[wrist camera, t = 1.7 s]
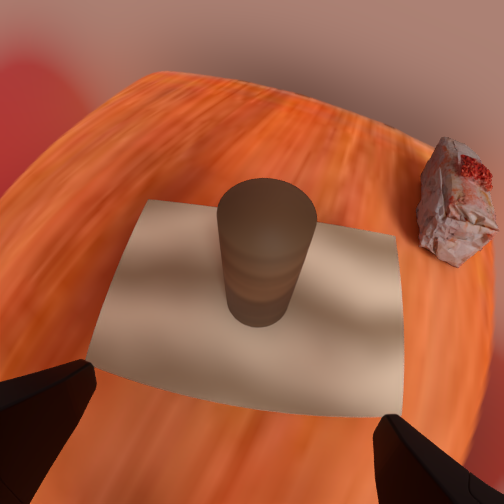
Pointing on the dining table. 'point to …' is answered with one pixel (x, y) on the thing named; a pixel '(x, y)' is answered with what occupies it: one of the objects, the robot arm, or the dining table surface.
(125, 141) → the dining table surface
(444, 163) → the food item
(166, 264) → the lid
